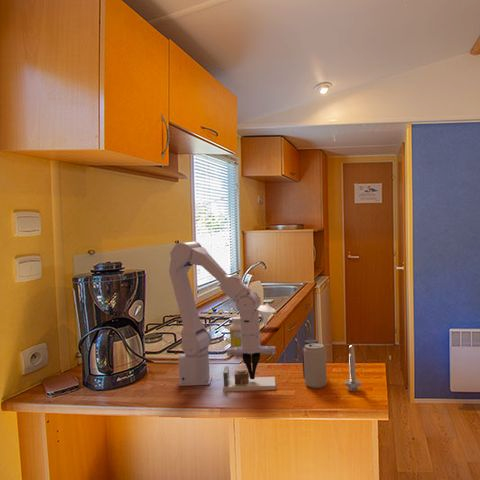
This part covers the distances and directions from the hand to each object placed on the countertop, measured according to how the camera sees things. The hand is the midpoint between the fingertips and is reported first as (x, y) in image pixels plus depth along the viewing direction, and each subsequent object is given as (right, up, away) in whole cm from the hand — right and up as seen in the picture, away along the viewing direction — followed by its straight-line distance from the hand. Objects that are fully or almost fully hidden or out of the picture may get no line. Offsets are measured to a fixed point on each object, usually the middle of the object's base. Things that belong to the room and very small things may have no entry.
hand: (252, 378), depth 140 cm
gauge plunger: (-3, -1, 0) cm, 3 cm away
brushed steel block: (-8, -2, 0) cm, 8 cm away
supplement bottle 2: (+19, -1, +6) cm, 20 cm away
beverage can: (+19, -2, -2) cm, 19 cm away
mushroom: (+8, 0, +78) cm, 78 cm away
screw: (+29, -1, -8) cm, 30 cm away
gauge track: (-1, -2, 0) cm, 3 cm away
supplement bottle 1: (-4, -2, +41) cm, 41 cm away
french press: (+1, -1, +58) cm, 58 cm away
